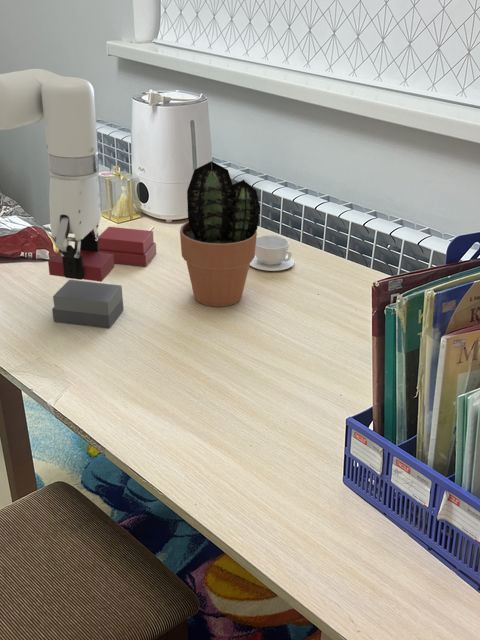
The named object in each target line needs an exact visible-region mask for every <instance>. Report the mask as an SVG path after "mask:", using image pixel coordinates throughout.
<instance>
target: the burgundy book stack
mask: <svg viewBox="0 0 480 640" xmlns="http://www.w3.org/2000/svg"><path fill="white" fill-rule="evenodd" d="M96 241H98V248H99V252H102V253H110V254H114V264H117V265H125V266H126V265H127V266H135V267H145V268H146V267H148V266H149V264H150V263H151V261H152V260H153V258H154V257H155V256H156V255H157V243H156V242H154V230H145V229H137V228H126V227H116V226H107V228H106V229H105V230H104V231H102V232H101V234H99V237H98V240H96Z"/></svg>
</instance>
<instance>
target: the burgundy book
mask: <svg viewBox="0 0 480 640" xmlns="http://www.w3.org/2000/svg"><path fill="white" fill-rule="evenodd" d="M80 256H82V258H83V271H84V278H83V279H82V280H83V281H91V282H98V283H103V281H104V280H105V278H107V276H108V275H109V274H110V273H111V272H112V271H113V270H114V268H115V263H114V254H110V253H102V252H94V251H87V250H80ZM47 265H48V274H49V276H55V277H63V278H66V277H65V276H64V269H63V258H62V256H61V252H60V251H59V250H58V251H57V252H56V253H55V254H54V255H53V256H52V257H51V258H50V259H48V261H47Z"/></svg>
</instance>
